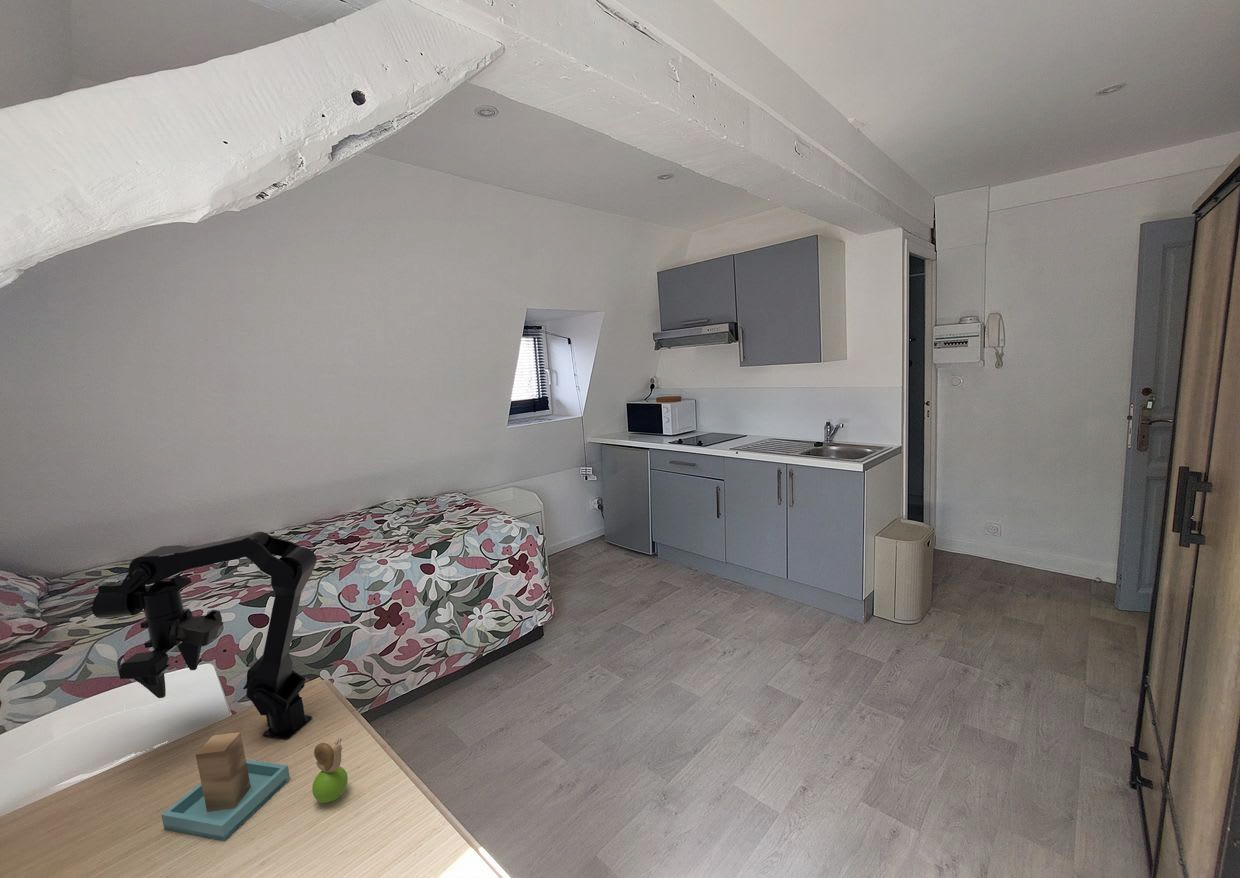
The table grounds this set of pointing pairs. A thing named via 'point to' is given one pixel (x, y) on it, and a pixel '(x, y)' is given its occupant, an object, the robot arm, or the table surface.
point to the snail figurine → (329, 773)
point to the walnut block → (223, 771)
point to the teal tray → (223, 823)
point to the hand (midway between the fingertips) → (178, 683)
